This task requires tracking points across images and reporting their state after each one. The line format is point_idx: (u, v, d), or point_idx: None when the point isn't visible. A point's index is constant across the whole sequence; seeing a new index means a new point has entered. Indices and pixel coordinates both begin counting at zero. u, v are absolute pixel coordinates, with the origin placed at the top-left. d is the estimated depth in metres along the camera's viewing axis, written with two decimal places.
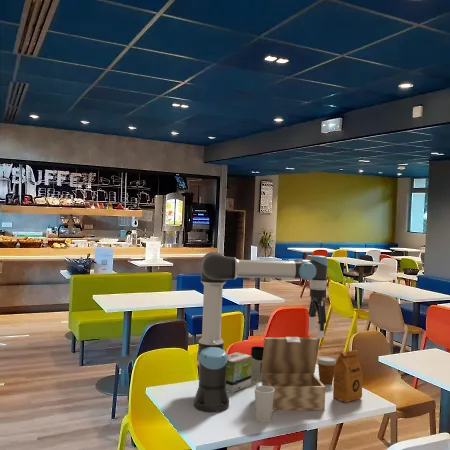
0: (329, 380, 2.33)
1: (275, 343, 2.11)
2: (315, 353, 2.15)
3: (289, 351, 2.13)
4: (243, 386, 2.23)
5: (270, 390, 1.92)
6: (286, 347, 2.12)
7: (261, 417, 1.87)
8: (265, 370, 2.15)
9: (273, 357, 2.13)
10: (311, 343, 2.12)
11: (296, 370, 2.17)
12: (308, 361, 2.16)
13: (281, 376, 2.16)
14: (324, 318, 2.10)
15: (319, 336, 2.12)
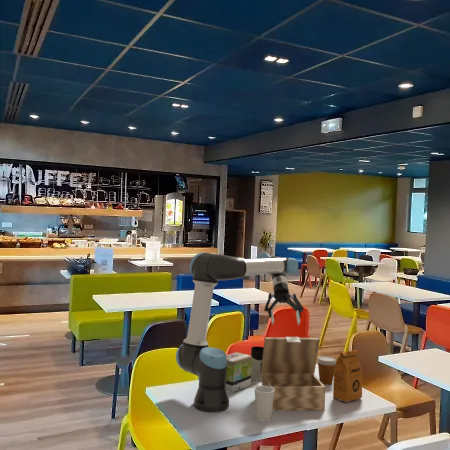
0: (329, 380, 2.33)
1: (275, 343, 2.11)
2: (315, 353, 2.15)
3: (289, 351, 2.13)
4: (243, 386, 2.23)
5: (270, 390, 1.92)
6: (286, 347, 2.12)
7: (261, 417, 1.87)
8: (265, 370, 2.15)
9: (273, 357, 2.13)
10: (311, 343, 2.12)
11: (296, 370, 2.17)
12: (308, 361, 2.16)
13: (281, 376, 2.16)
14: None
15: None
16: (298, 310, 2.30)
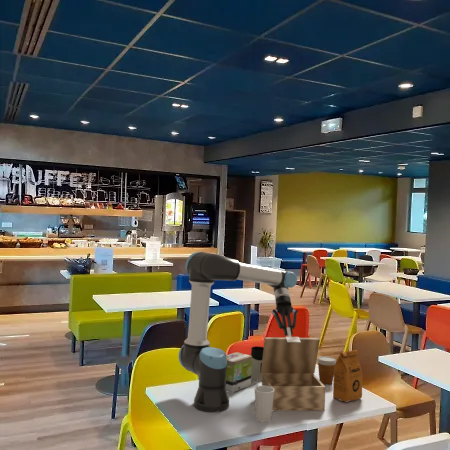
0: (329, 380, 2.33)
1: (275, 343, 2.11)
2: (315, 353, 2.15)
3: (289, 351, 2.13)
4: (243, 386, 2.23)
5: (270, 390, 1.92)
6: (286, 347, 2.12)
7: (261, 417, 1.87)
8: (265, 370, 2.15)
9: (273, 357, 2.13)
10: (311, 343, 2.12)
11: (296, 370, 2.17)
12: (308, 361, 2.16)
13: (281, 376, 2.16)
14: None
15: None
16: None
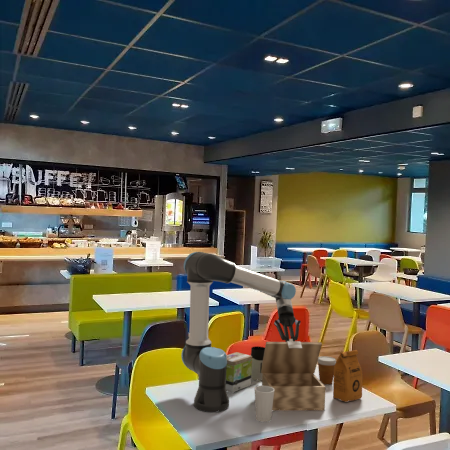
0: (329, 380, 2.33)
1: (276, 347, 2.08)
2: (316, 356, 2.13)
3: (290, 354, 2.11)
4: (243, 386, 2.23)
5: (270, 390, 1.92)
6: (287, 351, 2.10)
7: (261, 417, 1.87)
8: (265, 370, 2.15)
9: (274, 359, 2.12)
10: (313, 347, 2.10)
11: (296, 370, 2.17)
12: (309, 363, 2.15)
13: (281, 376, 2.16)
14: None
15: None
16: (292, 338, 2.18)
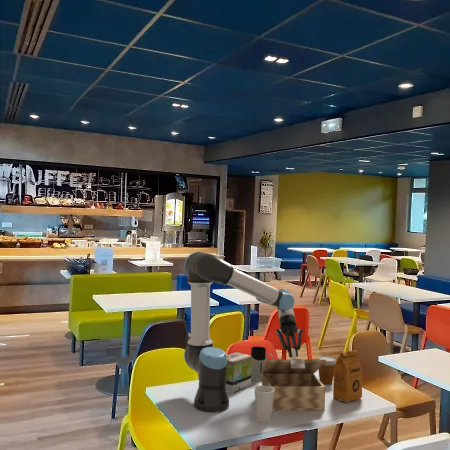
0: (329, 380, 2.33)
1: (278, 363, 2.03)
2: (318, 367, 2.09)
3: None
4: (243, 386, 2.23)
5: (270, 390, 1.92)
6: (289, 365, 2.05)
7: (261, 417, 1.87)
8: (265, 372, 2.15)
9: (275, 368, 2.09)
10: (316, 363, 2.04)
11: (296, 372, 2.16)
12: (310, 369, 2.13)
13: (281, 376, 2.16)
14: None
15: None
16: (294, 348, 2.14)
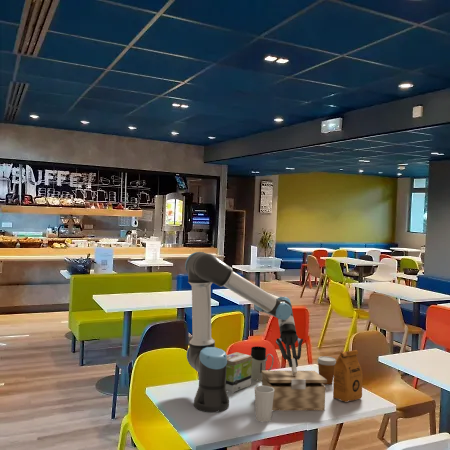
0: (329, 380, 2.33)
1: None
2: None
3: None
4: (243, 386, 2.23)
5: (270, 390, 1.92)
6: None
7: (261, 417, 1.87)
8: None
9: None
10: None
11: None
12: None
13: None
14: None
15: None
16: (294, 357, 2.10)
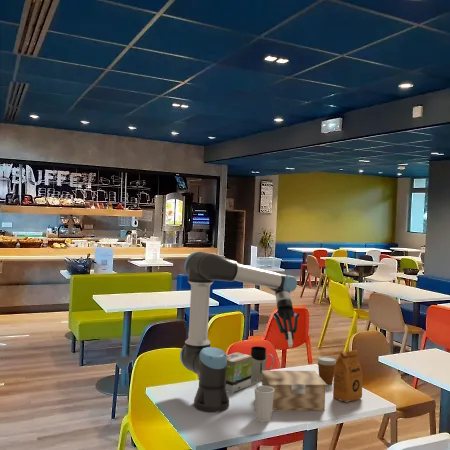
0: (329, 380, 2.33)
1: None
2: None
3: None
4: (243, 386, 2.23)
5: (270, 390, 1.92)
6: None
7: (261, 417, 1.87)
8: None
9: None
10: None
11: None
12: None
13: None
14: None
15: None
16: (290, 331, 2.20)
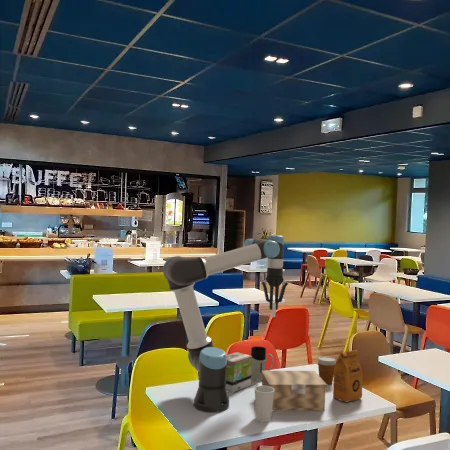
0: (329, 380, 2.33)
1: None
2: None
3: None
4: (243, 386, 2.23)
5: (270, 390, 1.92)
6: None
7: (261, 417, 1.87)
8: None
9: None
10: None
11: None
12: None
13: None
14: None
15: None
16: (275, 302, 2.25)
